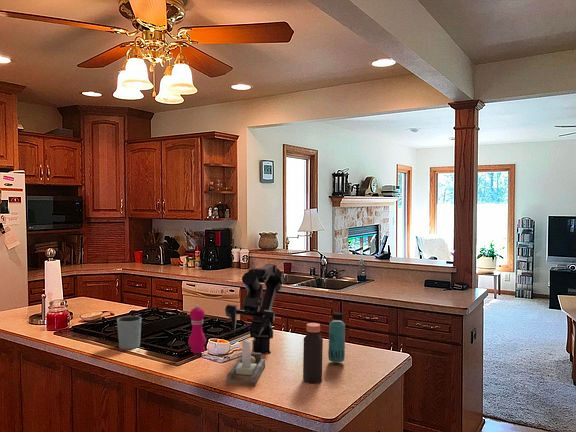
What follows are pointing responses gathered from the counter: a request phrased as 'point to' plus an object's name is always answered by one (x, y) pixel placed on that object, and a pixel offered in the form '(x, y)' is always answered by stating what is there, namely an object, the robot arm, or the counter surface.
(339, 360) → the beverage bottle
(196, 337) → the pepper mill
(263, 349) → the robot arm
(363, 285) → the counter surface
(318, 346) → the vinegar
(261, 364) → the base plate with post
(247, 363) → the press jaw
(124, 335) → the drinking glass
